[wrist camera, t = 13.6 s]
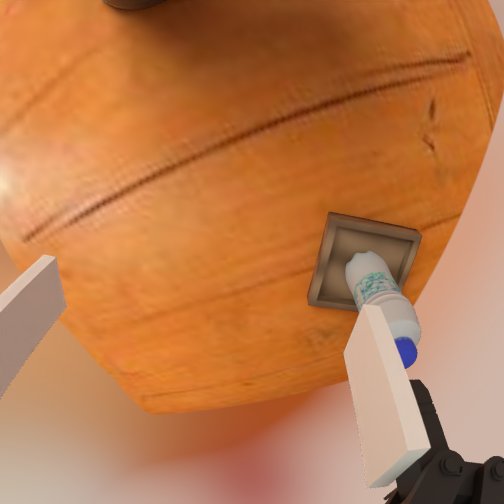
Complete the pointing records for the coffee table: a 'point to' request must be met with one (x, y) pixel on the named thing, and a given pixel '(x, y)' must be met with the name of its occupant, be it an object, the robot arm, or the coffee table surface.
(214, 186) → the coffee table surface
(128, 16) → the coffee table surface
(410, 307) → the bottle
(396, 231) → the tray
